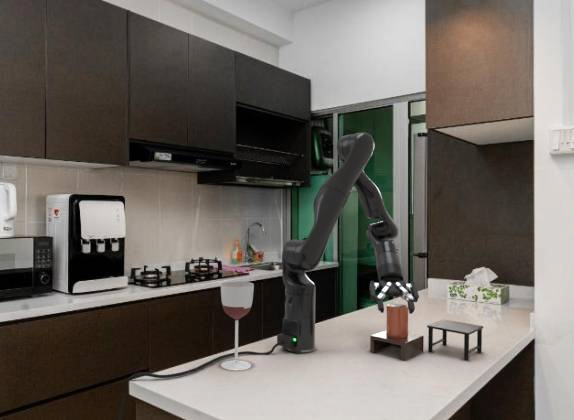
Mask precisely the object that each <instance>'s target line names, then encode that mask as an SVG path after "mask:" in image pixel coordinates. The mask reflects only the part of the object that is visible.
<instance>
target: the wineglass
mask: <svg viewBox="0 0 574 420" xmlns="http://www.w3.org/2000/svg"><path fill="white" fill-rule="evenodd" d="M254 289H255V284H254V283H253V282H249V281H226V282H221V283H220V297H221V305H222V308H223V312H224V313H225V314H226V315H227V316H229V318H232V319H233V320H234V326H235V327H234V353H235V355H234V360H226V361H224V362H222V363H221V364H220V366H221V368H222V369H225V370H228V371H246V370H249V369H250V368H251V367H252V364H251V363H250V362H248V361H245V360H239V355H238V352H239V320H241V319H242V318H243V317H246V316H247V315H248V314H249V313H250V311H251V308H252V305H253V299H254V291H255V290H254Z"/></svg>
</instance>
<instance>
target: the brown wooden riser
mask: <svg viewBox="0 0 574 420" xmlns="http://www.w3.org/2000/svg"><path fill="white" fill-rule="evenodd" d="M424 337H425V336H424V335H422V334H418V333H413V332H408V337H407V338H393V337H389V336H387V335H386V329H385V330H383V331H380V332H377V333H373V334H371V335H370V339H369V340H370V341H369V342H370V343H369V352H370V353H372V354H375V353H377V352H380V351H382V350H384V349H387V348H389V347H393V348H394V347H395V348H398V349H400V360H401V361H407V360H409V359H411V358H414V357H416V356H418V355H421V354H423V353H424V348H425V347H424V343H425V341H424V340H425V339H424Z"/></svg>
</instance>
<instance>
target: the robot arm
mask: <svg viewBox="0 0 574 420" xmlns="http://www.w3.org/2000/svg"><path fill="white" fill-rule="evenodd" d="M374 150H375V141H374V138H373V136H372V135H371V134H370V133H368V132H356V133H351V134H346V135H343V136H341V137H340V138H339V139H338V141H337V143H336V153H337V156H338V157H339V159H340V162H341V165H340V166H339V167H338V168H337V170H335V171H334V172H333V173H332V174H331V175H330V176H329V177H328V178H327V179H326V180H325V181H324V182H322V184H321V187H320V188H319V190H318V192H317V194H316V196H315V198H314V201H313V220H314V221H313V225H312V228H311V230H310V232H309V234H308V236H307V237H306V239H297V238H295V239H293V238H292V239H289V240H287V241H286V242H285V244H284V246H283V249H282V253H281V272H282V282H283V285H284V317H283V318H282V333H279V334H276V343H275V344H274V345H273V346H272V348H271V349H270V350H269V351H265V352H257V351H251V350H249V351H248V350H246V351H245V350H244V351H238V356H239V355H240V356H241V355H254V356H255V355H257V356H268V355H271V354H272V353H274V351H275V349H276V348H278V347H279V346H280V347H281V348H282V350H285V351H288V352H292V353H295V354H303V353H310V352H314V351H315V350H316V344H315V343H316V283H315V282H314V281H312V280H311V279H310V278H309V276H308V275H307V273H306V272H312V271H314V270H315V269H317V268H318V267H319V266H320V264H321V262H322V259H323V257H324V254H325V252H326V249H327V246H328V244H329V243H328V242H329V240H330V238H331V235H332V233H333V230H334V229H335V226H336V223H337V221H338V219H339V217H340V215H341V213H342V211H343V210H344V207H345V205H346V203H347V202H348V199H349V197H350V194H351V192H352V190H353V188H355V190H356V192H357V194H358V198H359V200H360V203H361V206H362V208H363V211H364V214H365V217H366V218H367V219H371V220H381V221H378V222H374V223H370V224H369V225H368V226H367V228H366V230H365V231H366V236H367V238H368V240H369V242H370V243H371V245H372V247H373V250H374V255H375V262H376V263H375V265H376V272H377V277H378V282H375V281H374V280H370V283H369V298H370V301H371V302H376V304H377V310H378V311H379V312H380V313H384V312H385V306H384V299H385V298H386V296H387V297H388V298H392V297H396V298H401V299H402V300H403V301H405V302H407V306H408V314H410V315H411V314H413V313H414V312H415V309H416V306H415V303H418V301H419V298H420V294H419V292H418V291H419V290H418V288H417V284H416V282H415V281H411V282H410V283H406V282H405V279H404V275H403V270H402V265H401V261H400V259H399V255H398V249H397V245H396V244H395V242H394V241H393V240H395V239H397V238H398V236H399V228H398V225H397V224H396V222H395V221H394V219H393V218H392V217H391V215H390V214H389V212H388V210H387V208H386V206H385V202H384V199H383V197H382V194H381V191H380V190H379V188H378V187H377V185H376V184H375V183H374V181H372V179H370V178H369V176H368V175H367V174H366V173H365V171H364V169H365V167H366V166H367V164H368V162H369V161H370V159H371V157H372V156H373V153H374ZM377 288H378V289H379V290H380V292H379V294H378V295H377V294H376V290H377ZM409 292H410V293H409ZM233 356H234V357H235V352H230V353H227V354H223V355H219V356H217V357H215V358H213V359H211V360H209V361H207V362H204V363H202V364H200V365H199V366H196V367H194V368H191V369H188V370H185V371H181V372H175V373H168V374H157V373H151V372H145V371H140V372H136V373H134V374H132V375H131V376H129V377H128V378H127V379H126V382H131V381H132V380H133V379H134V378H136V377H141V376H145V377H151V378H155V379H156V378H157V379H170V378H176V377H181V376H184V375H185V376H186V375H188V374H192V373H194V372H196V371H199V370H201V369H203V368H205V367H207V366H209V365H211V364H213V363H216V362H217V361H220V360H222V359H226V358H229V357H233ZM126 395H127V389H125V388H123V389H122V397H121V403H120V408H119V415H118V420H123V413H124V407H125V401H126V397H127V396H126Z"/></svg>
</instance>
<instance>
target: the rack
mask: <svg viewBox="0 0 574 420" xmlns="http://www.w3.org/2000/svg"><path fill="white" fill-rule="evenodd" d="M426 328H427V329H428V337H427V338H428V342H427V343H428V344H427V347H428V348H427V352H428V353H433V349H434V348H433V347H434V346H436V345H438V344H440V343H442V346H443V347H447V345H448V344H447V341H448V340H447V339H448V332H450V333H455V334H460V335H463V336H464V337H463V338H464V339H463V360H464V361H466V362H468V361H469V360H470V353H473V352H474V351H476V353H477V354H482V352H483V351H482V349H483V347H482V345H483V343H482V342H483V341H482V340H483V329H484V326H483V325H479V324H473V323H467V322H462V321H461V322H460V321H456V320H455V321H454V320H450V319H444V318H443V319H441V320H438V321H435V322H433V323H429V324H427V325H426ZM434 330H439V331H442V338H441V339H438V340H435V341H434ZM475 333H476V334H477V335H476V345H475V346H474V347H472V348H470V335H472V334H475Z"/></svg>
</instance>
